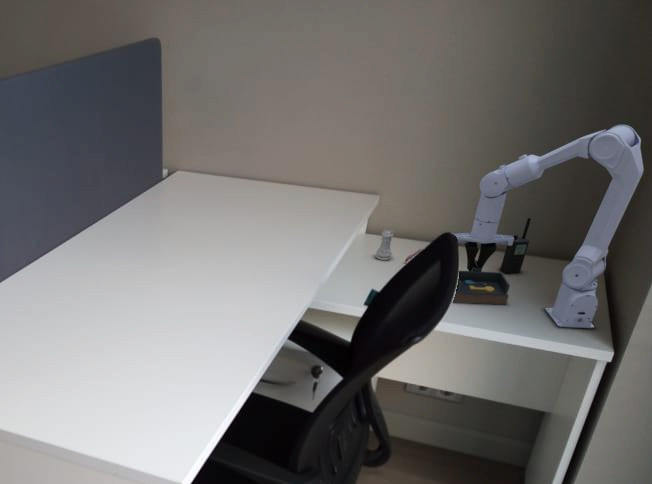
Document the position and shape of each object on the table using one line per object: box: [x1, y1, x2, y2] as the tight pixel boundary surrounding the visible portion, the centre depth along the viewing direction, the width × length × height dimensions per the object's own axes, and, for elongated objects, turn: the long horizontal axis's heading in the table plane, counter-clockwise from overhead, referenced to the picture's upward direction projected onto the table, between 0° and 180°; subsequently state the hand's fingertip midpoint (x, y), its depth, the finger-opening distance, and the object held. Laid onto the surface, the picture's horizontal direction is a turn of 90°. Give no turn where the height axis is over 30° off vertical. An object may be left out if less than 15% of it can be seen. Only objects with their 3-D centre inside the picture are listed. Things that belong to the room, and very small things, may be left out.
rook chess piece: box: [375, 229, 394, 261], centre depth 207 cm, size 4×4×8 cm
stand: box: [452, 293, 509, 305], centre depth 186 cm, size 8×13×2 cm, turn 82°
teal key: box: [464, 280, 487, 286], centre depth 185 cm, size 5×2×1 cm, turn 82°
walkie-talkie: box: [499, 217, 532, 274], centre depth 196 cm, size 5×3×15 cm
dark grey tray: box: [456, 259, 511, 296], centre depth 185 cm, size 11×12×4 cm
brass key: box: [469, 286, 494, 292], centre depth 183 cm, size 6×2×1 cm, turn 82°
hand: (473, 269), depth 188 cm, fingers closed on dark grey tray, 2 cm apart
